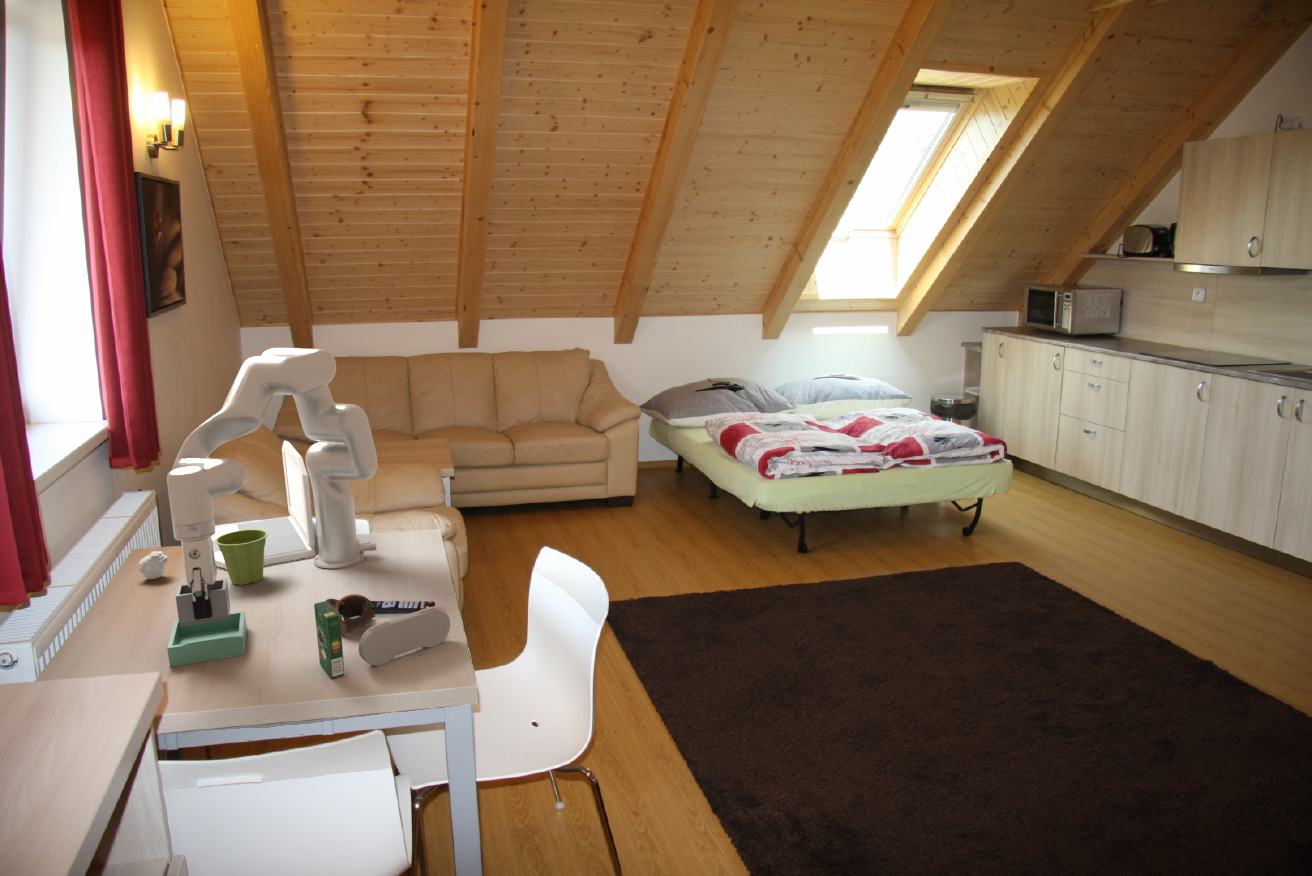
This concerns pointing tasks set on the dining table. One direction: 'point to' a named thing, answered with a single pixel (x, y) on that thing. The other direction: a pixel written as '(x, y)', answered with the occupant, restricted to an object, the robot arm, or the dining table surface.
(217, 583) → the small crate
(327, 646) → the coffee box
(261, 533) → the plant pot
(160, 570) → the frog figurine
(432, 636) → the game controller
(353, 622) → the pottery mug
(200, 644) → the big crate
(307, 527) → the laptop
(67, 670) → the dining table surface
